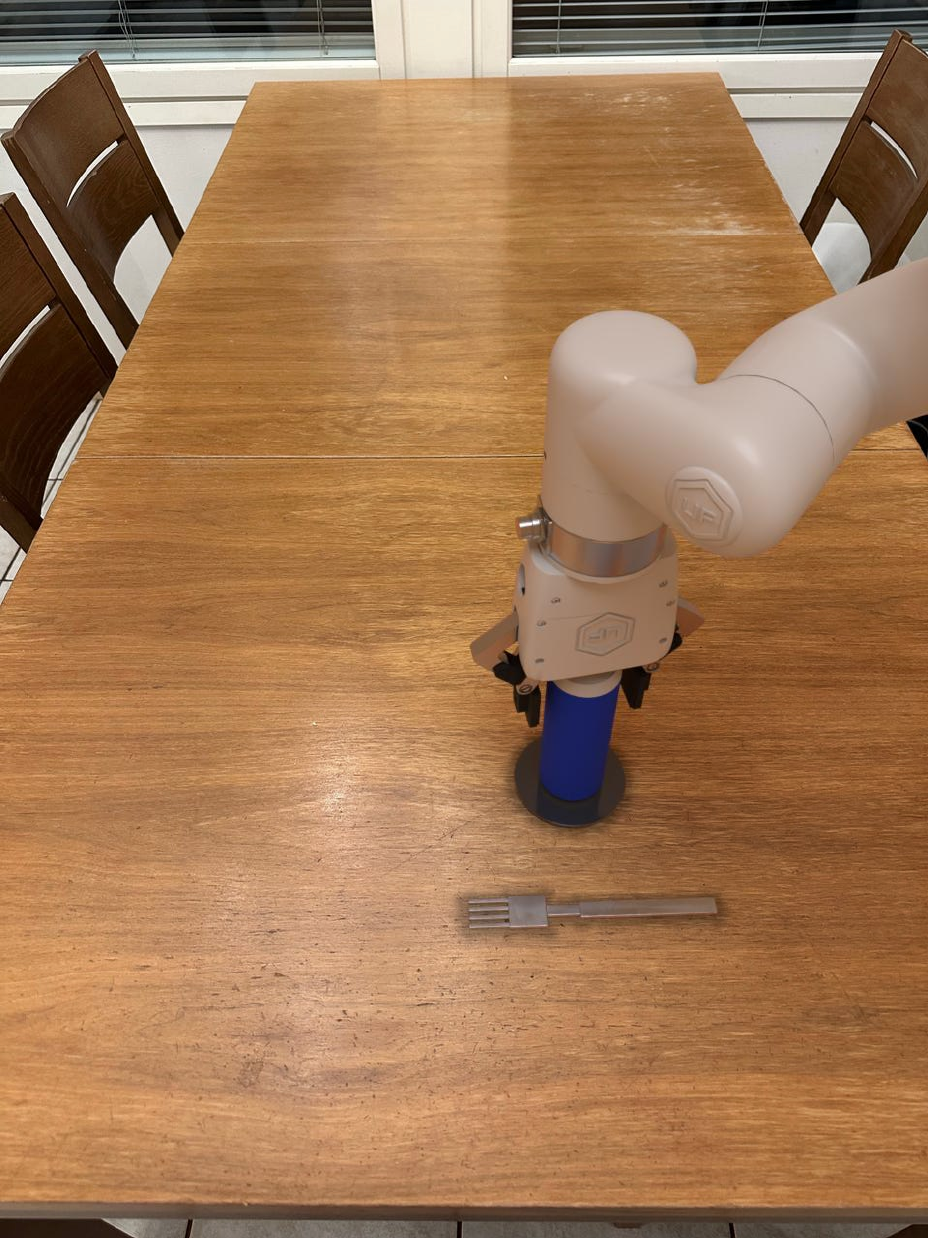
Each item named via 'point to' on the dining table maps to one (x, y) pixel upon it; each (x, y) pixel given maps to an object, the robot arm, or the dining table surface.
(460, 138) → the dining table surface
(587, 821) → the coaster
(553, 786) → the beverage can
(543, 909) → the fork
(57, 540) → the dining table surface
